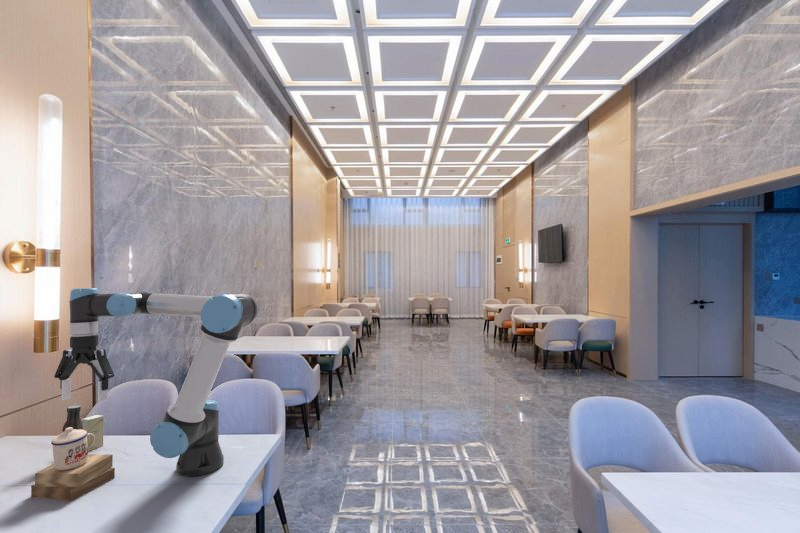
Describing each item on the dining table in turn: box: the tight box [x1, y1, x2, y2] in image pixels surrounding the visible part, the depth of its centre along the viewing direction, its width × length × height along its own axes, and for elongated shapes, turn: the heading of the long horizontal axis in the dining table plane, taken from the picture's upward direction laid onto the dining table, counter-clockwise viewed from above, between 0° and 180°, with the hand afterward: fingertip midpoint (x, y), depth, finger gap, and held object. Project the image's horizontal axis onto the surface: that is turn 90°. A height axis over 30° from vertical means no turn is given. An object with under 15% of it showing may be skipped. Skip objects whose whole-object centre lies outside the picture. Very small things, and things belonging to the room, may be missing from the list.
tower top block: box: [34, 453, 114, 487], centre depth 135 cm, size 14×14×4 cm
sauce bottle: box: [61, 405, 83, 433], centre depth 155 cm, size 7×6×20 cm
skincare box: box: [80, 414, 105, 452], centre depth 167 cm, size 6×4×12 cm
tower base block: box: [30, 467, 116, 502], centre depth 135 cm, size 15×15×4 cm
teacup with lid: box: [50, 427, 95, 470], centre depth 135 cm, size 12×9×12 cm
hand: (84, 399), depth 138 cm, fingers open, 13 cm apart
